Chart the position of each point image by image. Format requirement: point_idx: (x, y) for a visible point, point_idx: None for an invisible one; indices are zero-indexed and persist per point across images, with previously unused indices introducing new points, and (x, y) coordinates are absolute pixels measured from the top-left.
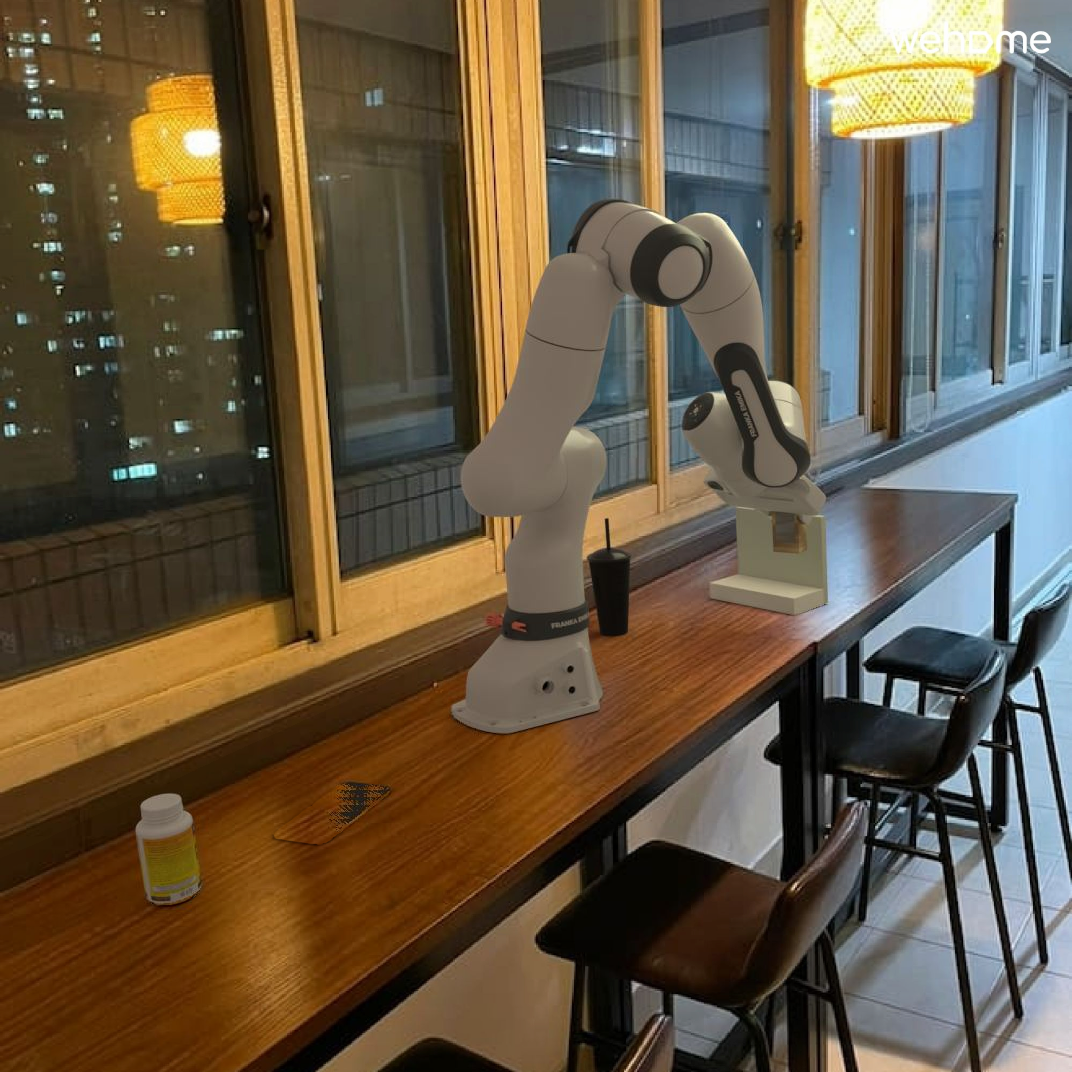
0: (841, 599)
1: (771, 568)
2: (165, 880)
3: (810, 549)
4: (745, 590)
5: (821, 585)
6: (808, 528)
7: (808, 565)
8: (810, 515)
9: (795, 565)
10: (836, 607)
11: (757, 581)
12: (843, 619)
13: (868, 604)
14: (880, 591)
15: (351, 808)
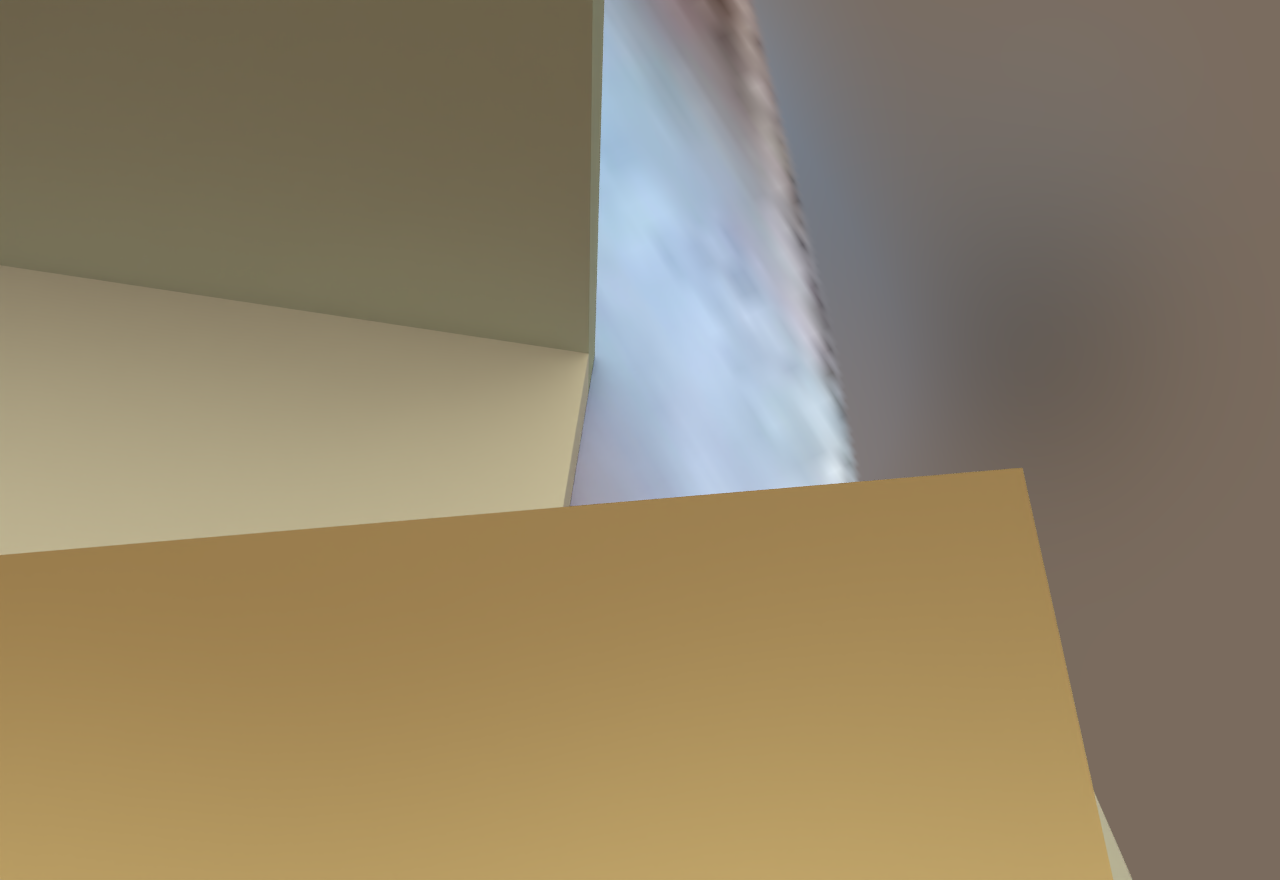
0: (613, 236)
1: (87, 241)
2: None
3: (455, 192)
4: None
5: (574, 342)
6: (404, 54)
7: (447, 264)
8: (1101, 824)
9: (315, 251)
10: (678, 399)
11: (41, 360)
12: None
13: (806, 267)
14: (721, 17)
15: None
